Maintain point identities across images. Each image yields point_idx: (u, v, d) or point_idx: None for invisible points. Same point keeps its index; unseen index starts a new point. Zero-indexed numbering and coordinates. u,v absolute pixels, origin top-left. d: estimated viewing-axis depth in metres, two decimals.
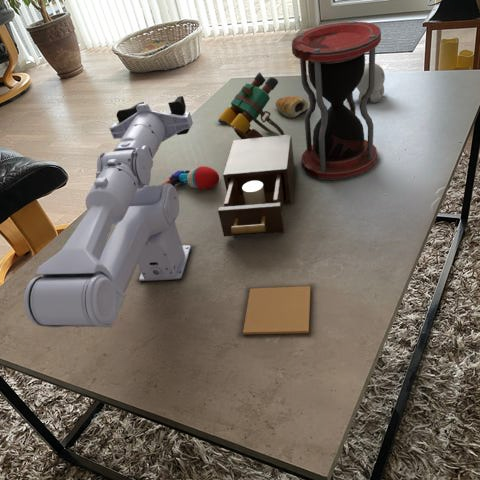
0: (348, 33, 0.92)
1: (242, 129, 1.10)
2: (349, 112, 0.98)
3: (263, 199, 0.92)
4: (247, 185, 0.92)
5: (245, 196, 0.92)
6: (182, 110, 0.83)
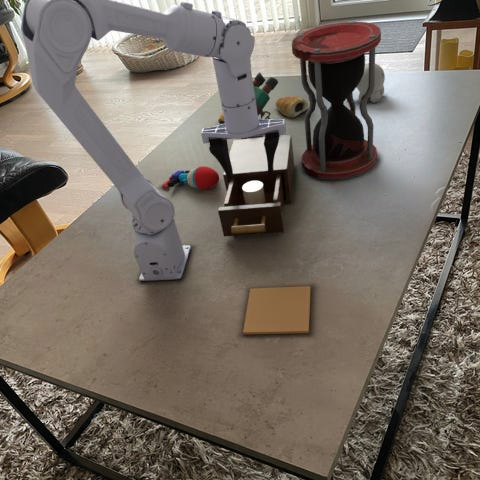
0: (348, 33, 0.92)
1: None
2: (349, 112, 0.98)
3: (263, 199, 0.92)
4: (247, 185, 0.92)
5: (245, 196, 0.92)
6: None
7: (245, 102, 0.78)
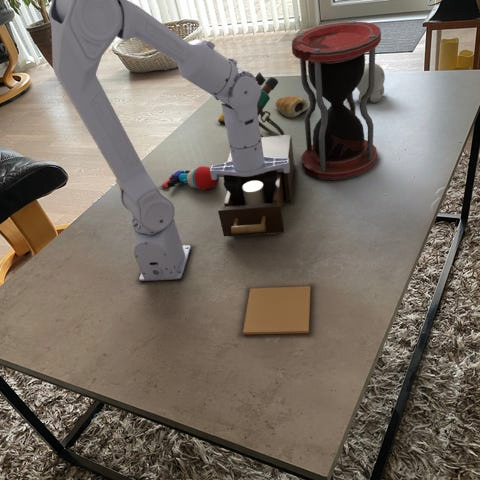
0: (348, 33, 0.92)
1: None
2: (349, 112, 0.98)
3: (263, 199, 0.92)
4: (247, 185, 0.92)
5: (245, 196, 0.92)
6: None
7: (252, 144, 0.83)
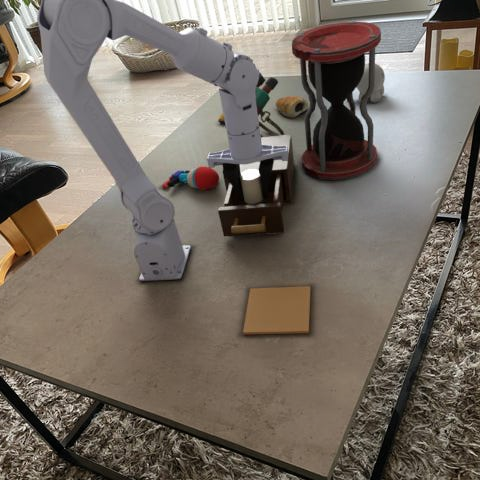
0: (348, 33, 0.92)
1: None
2: (349, 112, 0.98)
3: (261, 188, 0.91)
4: (245, 173, 0.90)
5: (242, 184, 0.90)
6: None
7: (250, 130, 0.81)
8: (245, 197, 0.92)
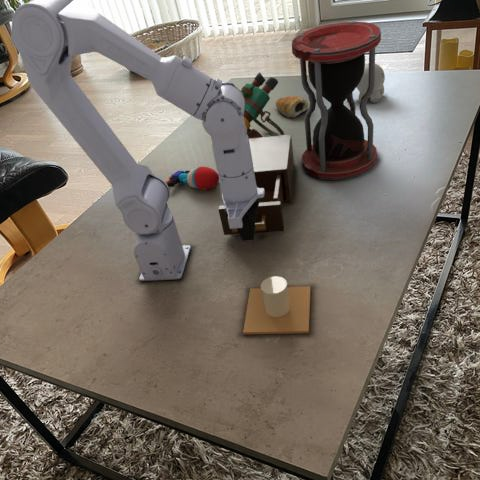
0: (348, 33, 0.92)
1: None
2: (349, 112, 0.98)
3: (286, 300, 0.74)
4: (267, 282, 0.74)
5: (264, 297, 0.73)
6: (247, 212, 0.80)
7: (232, 175, 0.74)
8: (267, 309, 0.75)
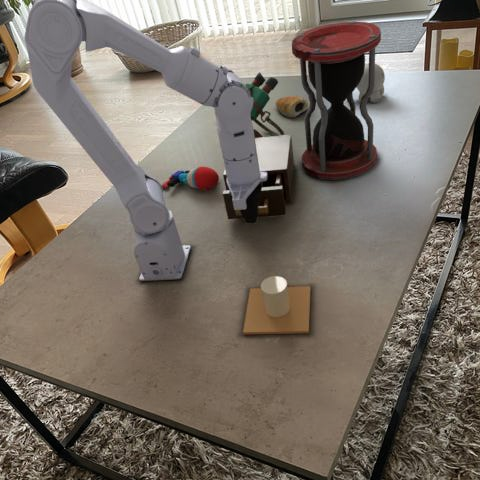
0: (348, 33, 0.92)
1: None
2: (349, 112, 0.98)
3: (286, 300, 0.74)
4: (267, 282, 0.74)
5: (264, 297, 0.73)
6: (251, 195, 0.83)
7: (242, 157, 0.78)
8: (267, 309, 0.75)
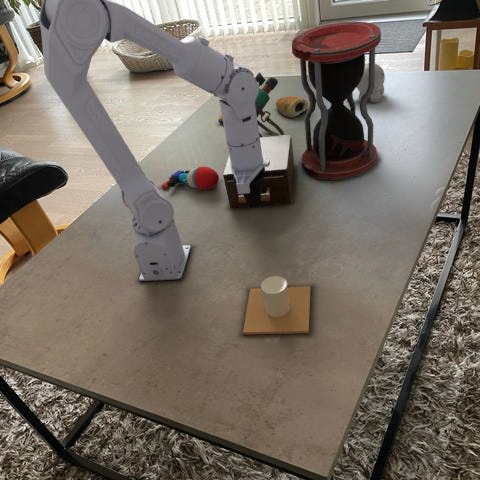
0: (348, 33, 0.92)
1: None
2: (349, 112, 0.98)
3: (286, 300, 0.74)
4: (267, 282, 0.74)
5: (264, 297, 0.73)
6: (254, 179, 0.87)
7: (249, 142, 0.81)
8: (267, 309, 0.75)
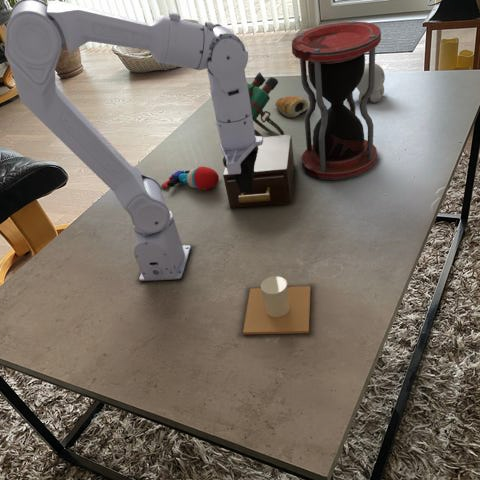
0: (348, 33, 0.92)
1: None
2: (349, 112, 0.98)
3: (286, 300, 0.74)
4: (267, 282, 0.74)
5: (264, 297, 0.73)
6: (246, 160, 0.79)
7: (237, 118, 0.74)
8: (267, 309, 0.75)
